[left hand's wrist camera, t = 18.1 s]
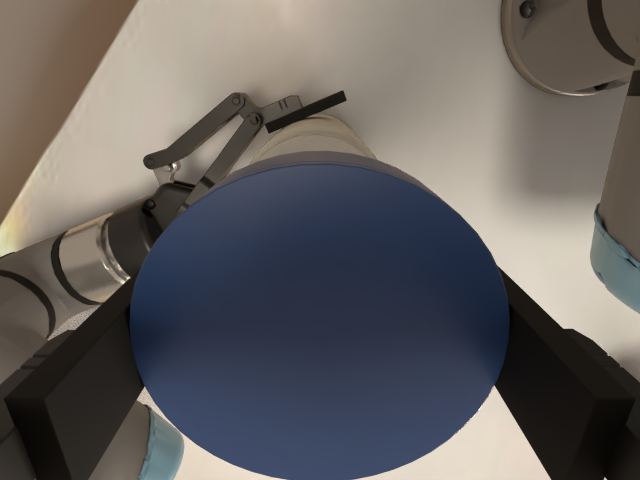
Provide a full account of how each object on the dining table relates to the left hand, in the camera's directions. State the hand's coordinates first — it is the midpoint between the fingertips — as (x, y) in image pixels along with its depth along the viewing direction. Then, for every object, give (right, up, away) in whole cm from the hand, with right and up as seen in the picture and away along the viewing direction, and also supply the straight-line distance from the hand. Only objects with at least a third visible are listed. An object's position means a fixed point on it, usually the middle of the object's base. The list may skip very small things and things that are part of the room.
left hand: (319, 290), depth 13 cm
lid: (0, -1, -3) cm, 3 cm away
